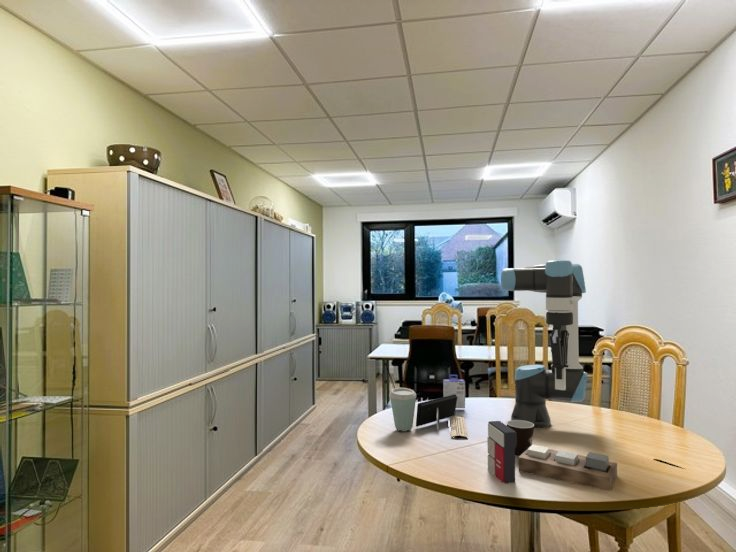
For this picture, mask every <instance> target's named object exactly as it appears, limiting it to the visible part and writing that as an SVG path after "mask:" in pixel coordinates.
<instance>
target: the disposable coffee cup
mask: <svg viewBox="0 0 736 552" xmlns="http://www.w3.org/2000/svg"><path fill="white" fill-rule="evenodd" d="M388 396H389V398H390V404H391V411H392V415H393V422H394V427H395V429H398V430H397V431H399V430H402V431H401V432H408V431H407V430H409V431H411V430H412V429H413V425H414V417H415V408H416V402H417V393H416V392H415V390H414V389H411V388H407V387H394V388H392V389H390V393H389V394H388Z"/></svg>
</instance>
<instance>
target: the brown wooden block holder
mask: <svg viewBox="0 0 736 552" xmlns="http://www.w3.org/2000/svg"><path fill="white" fill-rule="evenodd" d="M532 445H533V444H532ZM532 445H531V446H532ZM549 450H550V456H549V457H548V458H547V459H542V458H538V457H533V456H529V455H527V450H526V451H525V452H523V453H522V454H521V455H520V456H518V472H521V473H525V474H529V475H534V476H539V477H544V478H548V479H551V480H557V481H561V482H566V483H571V484H576V485H580V486H584V487H588V486H589V487H590V488H593V489H597V488H598V489H599V490H603V491H607V492H611V490H612V488H613V485H614V483H615V482H616V480H617V478H618V463H617V462H613V461H609V466H608V467H607V469H606V473H605V472H601V471H596V470H592V469H589V467H587V466H586V456H585V455H579V454H578V463H577V465H576V466H574V465H569V464H565V463H560V462H556V461H555V455H556V454H557V453H558V452H559V451H560V450H555V449H551V448H549ZM598 489H597V490H598Z"/></svg>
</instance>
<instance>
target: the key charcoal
mask: <svg viewBox="0 0 736 552" xmlns="http://www.w3.org/2000/svg"><path fill="white" fill-rule="evenodd" d="M585 457H586V466H587V467H589V469H592V470H596V471H601V472H605V473H606V469H607V467H608V466H609V462H610V455H608V454H603V453H602V454H601V453H597V452H591V451H589V452H588V453H587V454H586V456H585Z"/></svg>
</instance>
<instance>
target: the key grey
mask: <svg viewBox="0 0 736 552" xmlns="http://www.w3.org/2000/svg"><path fill="white" fill-rule="evenodd" d="M558 451H559V452H558V453H557V454H556V455H555V461H556V462H560V463H565V464H569V465H574V466H576V465H577V463H578V455H579V453H575V452H570V451H565V450H561V449H560V450H558Z"/></svg>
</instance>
